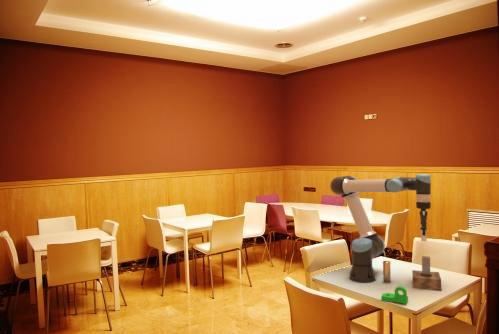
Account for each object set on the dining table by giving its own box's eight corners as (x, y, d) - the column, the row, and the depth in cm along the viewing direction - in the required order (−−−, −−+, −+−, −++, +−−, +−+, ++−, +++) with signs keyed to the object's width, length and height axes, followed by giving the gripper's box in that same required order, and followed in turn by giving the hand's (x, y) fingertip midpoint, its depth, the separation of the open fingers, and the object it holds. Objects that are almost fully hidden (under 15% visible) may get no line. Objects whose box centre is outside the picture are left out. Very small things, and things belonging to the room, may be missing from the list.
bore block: (413, 288, 212) (413, 277, 212) (412, 280, 225) (412, 270, 225) (441, 290, 207) (441, 279, 207) (438, 282, 220) (438, 272, 220)
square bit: (422, 284, 215) (422, 258, 214) (422, 282, 219) (421, 256, 218) (430, 285, 213) (430, 258, 213) (429, 282, 217) (429, 256, 217)
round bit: (383, 282, 223) (382, 262, 222) (383, 280, 226) (383, 260, 226) (390, 283, 221) (390, 262, 221) (390, 281, 225) (390, 261, 224)
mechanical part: (408, 299, 196) (407, 284, 196) (406, 303, 191) (406, 288, 191) (383, 296, 202) (383, 281, 202) (381, 299, 197) (381, 284, 197)
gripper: (431, 204, 204) (431, 243, 205) (429, 198, 227) (429, 234, 228) (416, 204, 207) (416, 242, 208) (415, 198, 230) (416, 233, 231)
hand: (423, 238), depth 218 cm, fingers open, 13 cm apart
